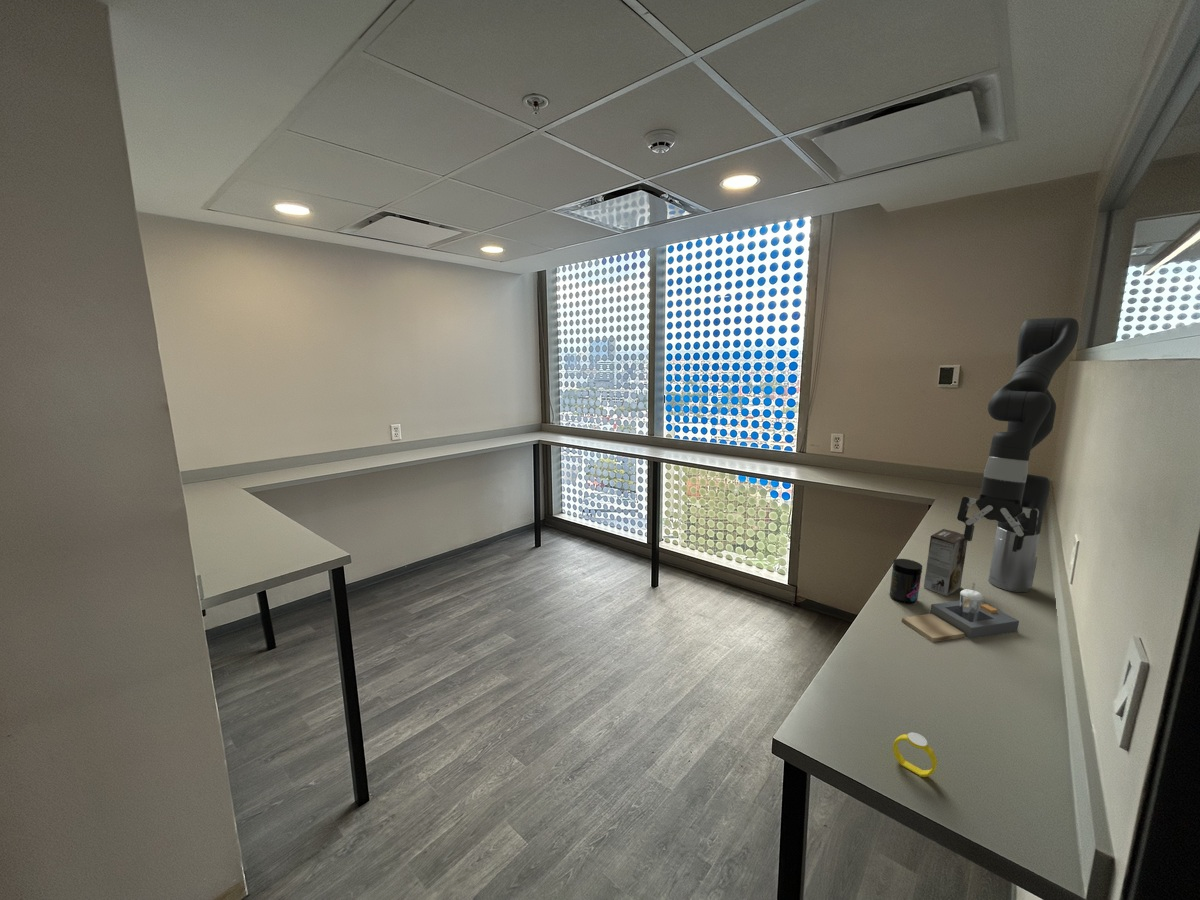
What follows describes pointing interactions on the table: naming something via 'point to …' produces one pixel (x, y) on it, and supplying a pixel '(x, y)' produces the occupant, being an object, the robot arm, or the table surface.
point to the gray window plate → (986, 623)
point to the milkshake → (970, 604)
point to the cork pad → (933, 627)
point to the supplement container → (905, 581)
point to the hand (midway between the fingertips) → (991, 545)
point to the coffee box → (945, 562)
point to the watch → (919, 743)
